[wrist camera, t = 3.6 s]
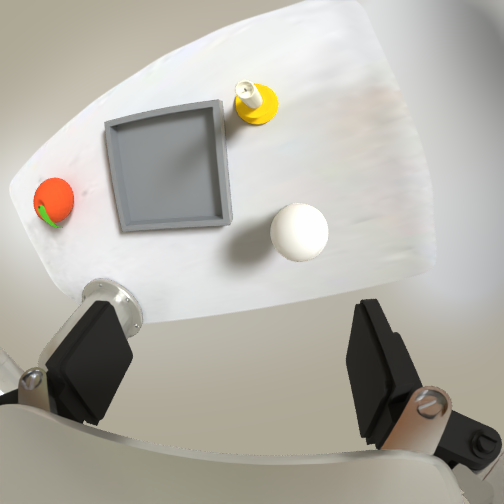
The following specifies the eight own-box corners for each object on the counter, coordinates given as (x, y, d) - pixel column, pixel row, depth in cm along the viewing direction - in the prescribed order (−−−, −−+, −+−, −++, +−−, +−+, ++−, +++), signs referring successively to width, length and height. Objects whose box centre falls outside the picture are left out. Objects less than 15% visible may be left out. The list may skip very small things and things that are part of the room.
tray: (232, 218, 38) (230, 225, 36) (129, 225, 40) (122, 231, 38) (222, 101, 32) (218, 99, 29) (113, 121, 33) (104, 122, 31)
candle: (286, 110, 32) (296, 98, 18) (251, 132, 33) (233, 136, 19) (263, 77, 30) (254, 42, 16) (227, 99, 32) (193, 81, 18)
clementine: (91, 208, 39) (65, 223, 33) (67, 226, 41) (41, 243, 34) (69, 165, 36) (40, 175, 30) (46, 186, 38) (19, 199, 31)
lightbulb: (327, 207, 37) (345, 240, 27) (297, 240, 39) (304, 282, 29) (291, 178, 35) (298, 200, 25) (261, 213, 38) (256, 248, 28)
